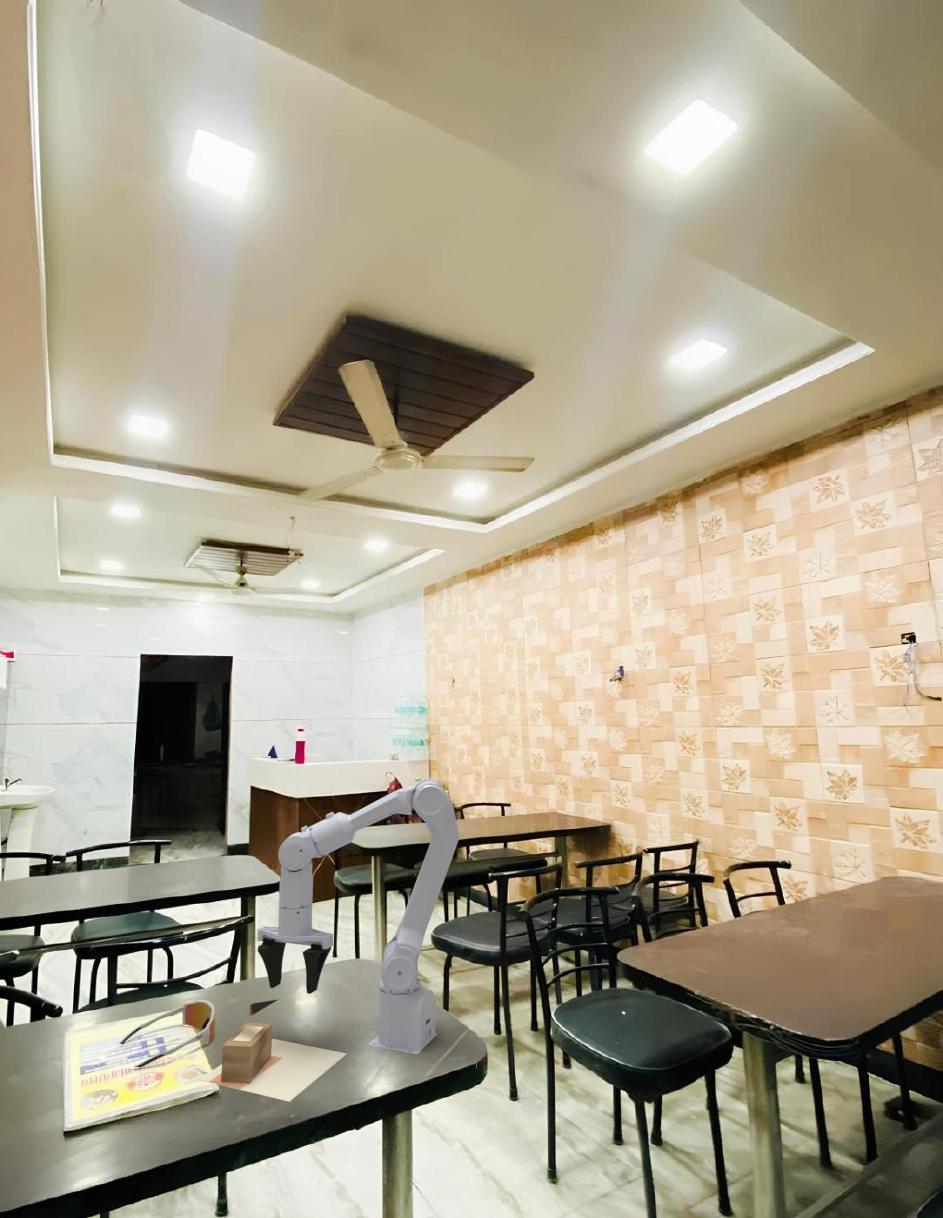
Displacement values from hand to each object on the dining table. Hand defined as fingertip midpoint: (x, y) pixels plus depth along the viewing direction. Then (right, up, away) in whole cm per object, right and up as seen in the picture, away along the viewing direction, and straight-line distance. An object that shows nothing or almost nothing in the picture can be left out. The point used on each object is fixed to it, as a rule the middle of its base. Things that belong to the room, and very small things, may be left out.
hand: (293, 988), depth 112 cm
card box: (-5, -7, -10) cm, 13 cm away
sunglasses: (-22, -10, 0) cm, 24 cm away
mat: (-1, -8, -9) cm, 12 cm away
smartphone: (-7, -12, +10) cm, 17 cm away
